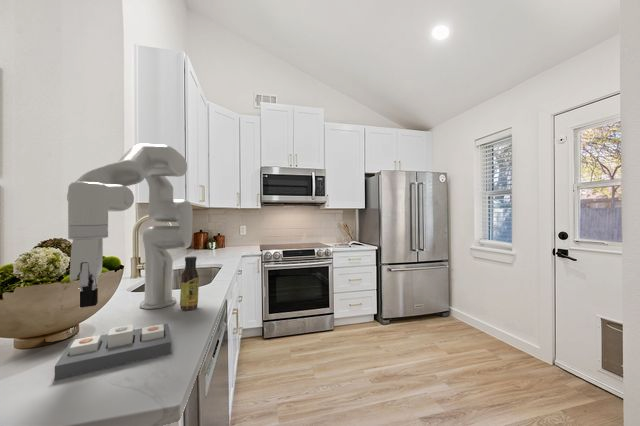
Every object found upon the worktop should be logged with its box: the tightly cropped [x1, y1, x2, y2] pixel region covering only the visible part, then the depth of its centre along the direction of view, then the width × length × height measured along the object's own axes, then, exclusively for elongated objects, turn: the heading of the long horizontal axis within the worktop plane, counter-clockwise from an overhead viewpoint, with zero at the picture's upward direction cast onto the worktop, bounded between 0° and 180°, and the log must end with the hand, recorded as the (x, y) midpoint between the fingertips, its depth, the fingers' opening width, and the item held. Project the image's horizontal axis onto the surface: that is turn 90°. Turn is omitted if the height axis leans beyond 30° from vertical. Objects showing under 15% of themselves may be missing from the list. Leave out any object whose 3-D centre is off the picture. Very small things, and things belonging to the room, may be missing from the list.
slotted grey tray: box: [53, 323, 172, 381], centre depth 70 cm, size 14×22×3 cm, turn 122°
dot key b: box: [70, 334, 102, 356], centre depth 66 cm, size 5×5×4 cm
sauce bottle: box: [179, 256, 200, 312], centre depth 104 cm, size 6×6×20 cm
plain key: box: [107, 324, 135, 348], centre depth 70 cm, size 5×5×4 cm
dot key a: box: [141, 323, 164, 341], centre depth 73 cm, size 5×5×4 cm
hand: (88, 305), depth 67 cm, fingers closed
